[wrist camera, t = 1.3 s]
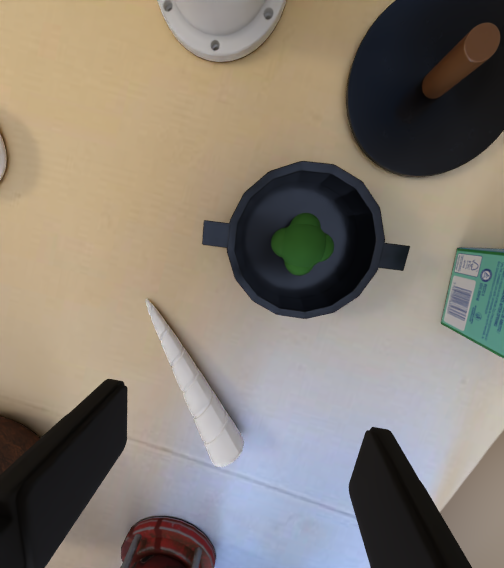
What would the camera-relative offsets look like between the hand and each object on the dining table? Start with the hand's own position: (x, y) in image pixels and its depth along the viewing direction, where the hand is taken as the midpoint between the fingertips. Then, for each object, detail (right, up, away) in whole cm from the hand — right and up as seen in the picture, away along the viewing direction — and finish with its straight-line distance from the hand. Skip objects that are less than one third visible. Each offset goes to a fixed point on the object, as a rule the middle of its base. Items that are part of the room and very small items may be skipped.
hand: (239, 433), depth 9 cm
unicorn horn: (-7, -7, +24) cm, 26 cm away
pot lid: (+18, +25, +13) cm, 33 cm away
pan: (+6, +11, +18) cm, 22 cm away
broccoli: (+6, +10, +18) cm, 21 cm away
